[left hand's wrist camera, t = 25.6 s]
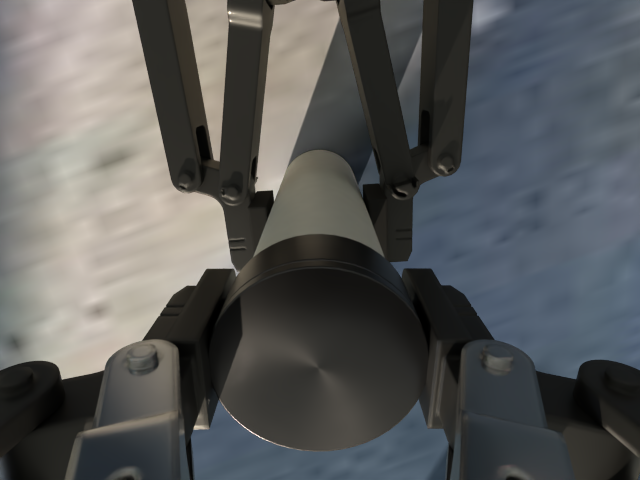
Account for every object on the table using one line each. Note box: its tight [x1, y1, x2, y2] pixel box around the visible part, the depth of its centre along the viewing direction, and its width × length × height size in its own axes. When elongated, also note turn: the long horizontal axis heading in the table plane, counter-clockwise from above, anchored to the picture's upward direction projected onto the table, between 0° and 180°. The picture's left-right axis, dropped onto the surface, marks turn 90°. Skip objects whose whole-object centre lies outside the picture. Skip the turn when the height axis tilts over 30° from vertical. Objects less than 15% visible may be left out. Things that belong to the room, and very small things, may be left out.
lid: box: [208, 234, 429, 451], centre depth 10 cm, size 5×5×2 cm
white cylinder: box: [253, 150, 385, 258], centre depth 17 cm, size 4×4×16 cm
